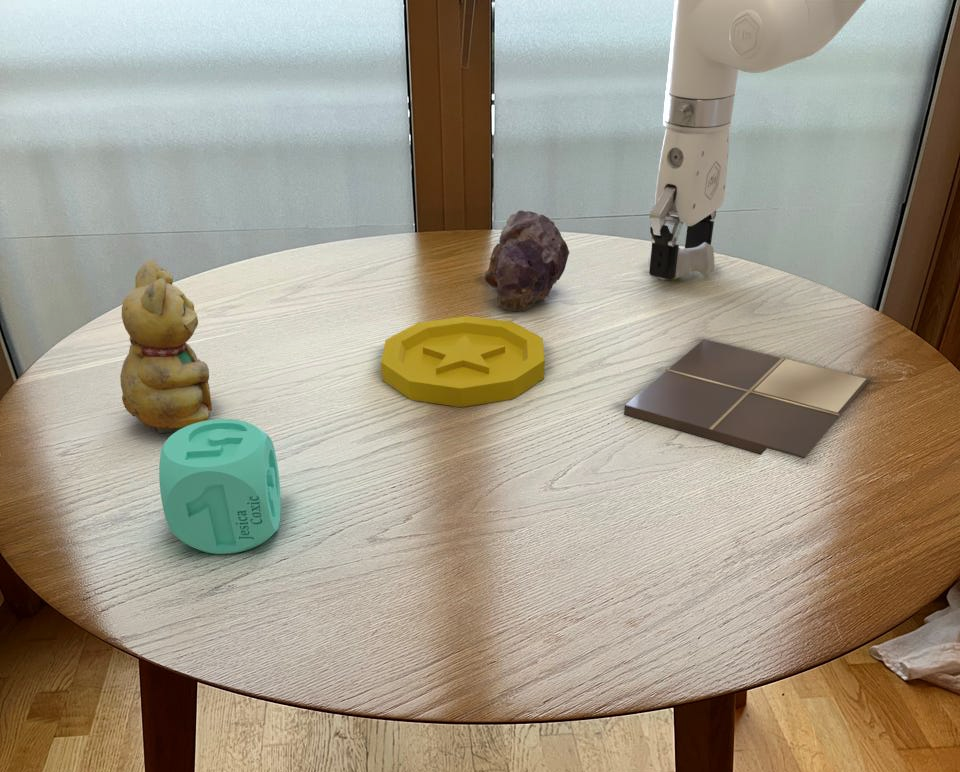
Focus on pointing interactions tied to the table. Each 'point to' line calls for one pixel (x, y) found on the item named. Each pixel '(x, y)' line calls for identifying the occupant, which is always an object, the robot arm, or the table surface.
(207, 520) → the decorative dice
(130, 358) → the decorative figurine
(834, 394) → the board
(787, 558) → the table surface
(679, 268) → the smooth white sculpture
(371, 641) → the table surface
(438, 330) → the decorative disc
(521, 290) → the rock
